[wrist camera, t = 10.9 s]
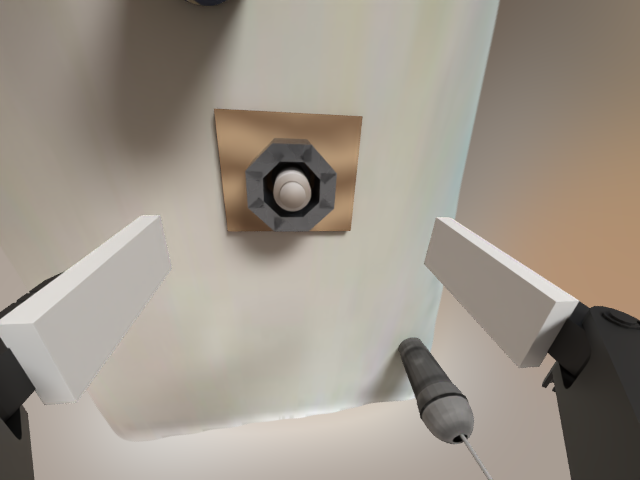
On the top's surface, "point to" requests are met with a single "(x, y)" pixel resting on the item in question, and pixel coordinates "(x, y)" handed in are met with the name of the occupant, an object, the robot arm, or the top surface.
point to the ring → (263, 197)
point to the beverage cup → (438, 397)
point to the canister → (206, 2)
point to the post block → (286, 177)
